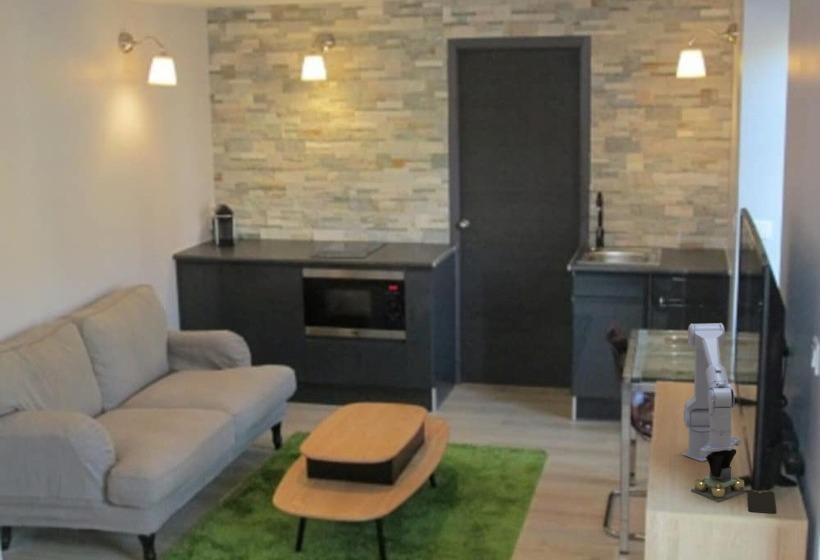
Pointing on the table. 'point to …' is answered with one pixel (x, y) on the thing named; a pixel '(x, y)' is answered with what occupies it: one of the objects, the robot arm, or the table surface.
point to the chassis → (719, 490)
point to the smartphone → (761, 502)
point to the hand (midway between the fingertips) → (719, 474)
